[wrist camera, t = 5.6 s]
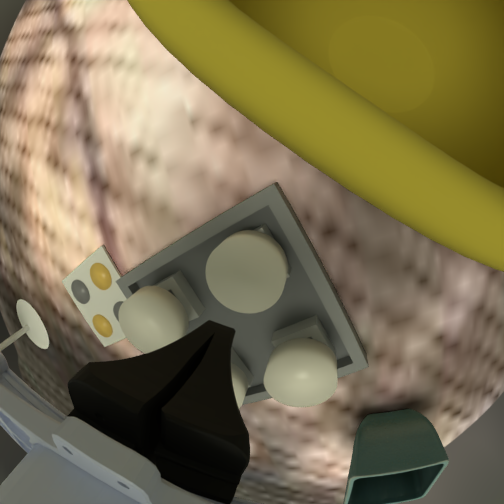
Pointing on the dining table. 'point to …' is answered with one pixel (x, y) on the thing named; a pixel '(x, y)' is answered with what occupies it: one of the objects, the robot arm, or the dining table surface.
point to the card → (98, 295)
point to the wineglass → (29, 326)
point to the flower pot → (394, 459)
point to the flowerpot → (367, 98)
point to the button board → (272, 319)
